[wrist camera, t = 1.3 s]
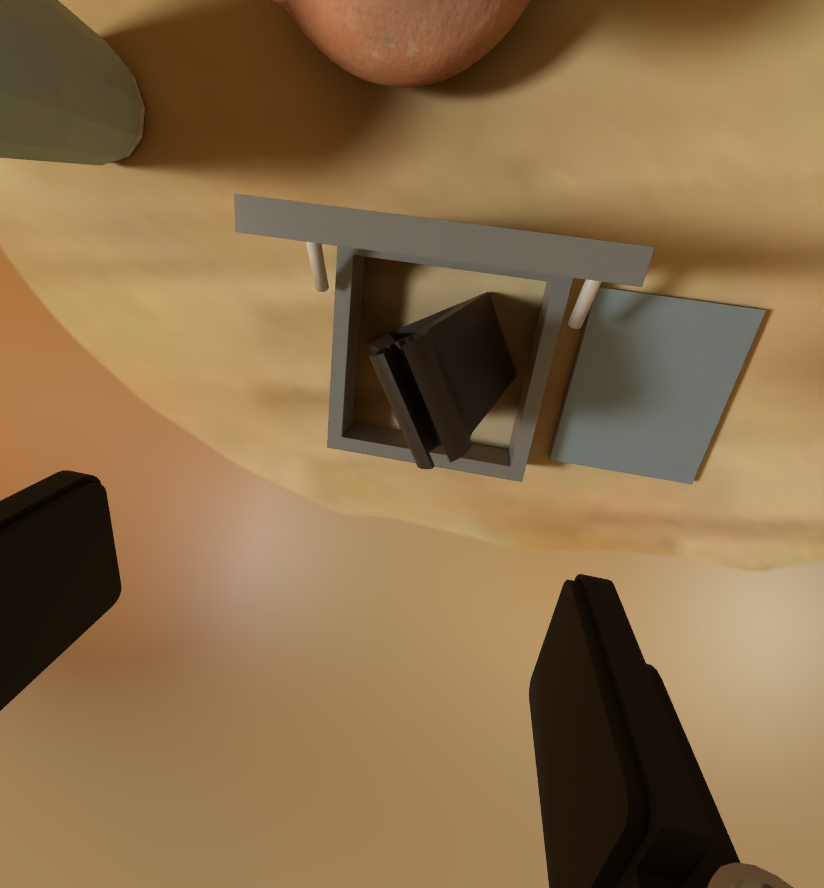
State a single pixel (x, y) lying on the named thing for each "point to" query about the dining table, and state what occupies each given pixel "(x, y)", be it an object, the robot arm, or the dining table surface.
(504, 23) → the ceramic jug
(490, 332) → the phone stand
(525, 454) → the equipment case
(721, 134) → the dining table surface
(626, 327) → the slate mat
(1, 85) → the disposable coffee cup
